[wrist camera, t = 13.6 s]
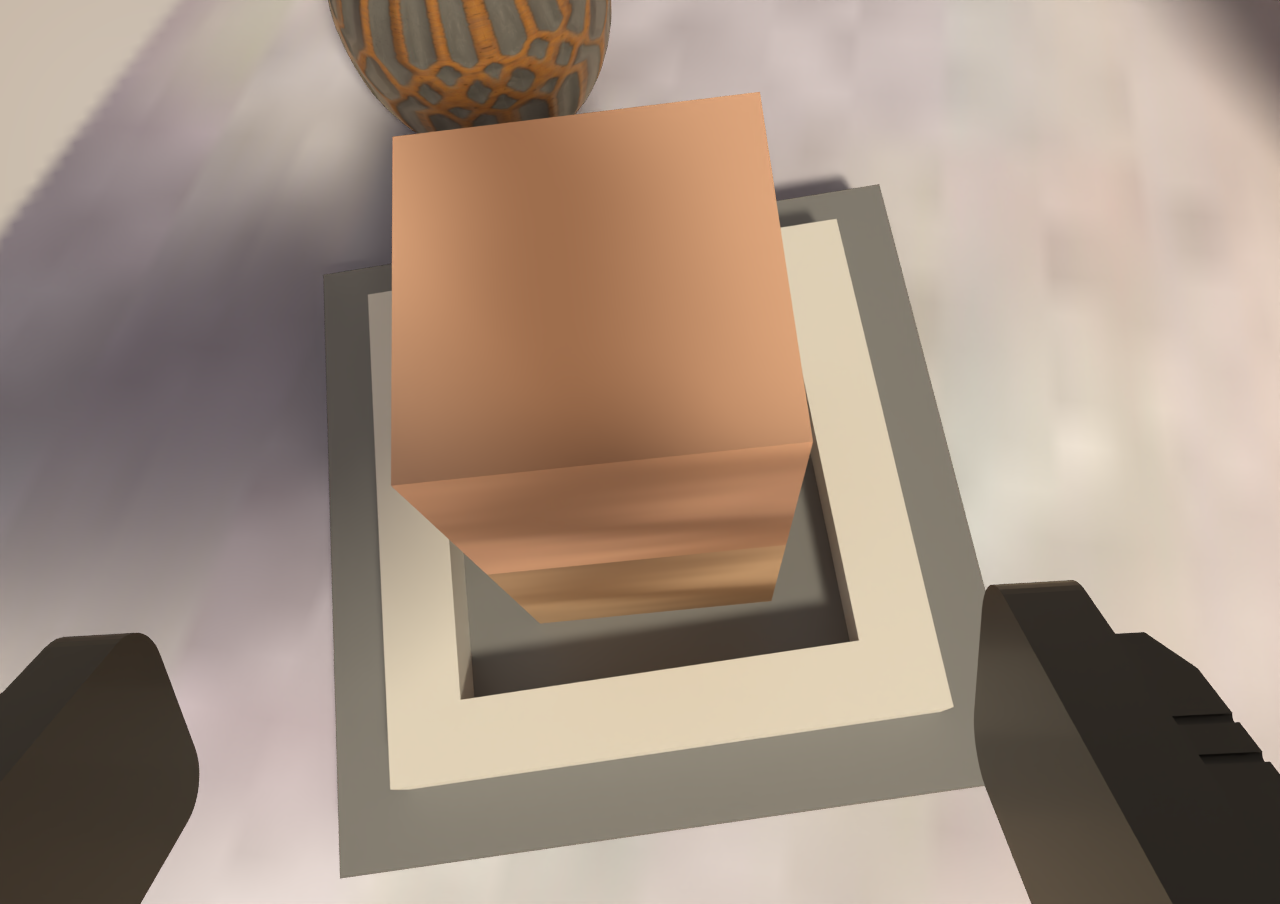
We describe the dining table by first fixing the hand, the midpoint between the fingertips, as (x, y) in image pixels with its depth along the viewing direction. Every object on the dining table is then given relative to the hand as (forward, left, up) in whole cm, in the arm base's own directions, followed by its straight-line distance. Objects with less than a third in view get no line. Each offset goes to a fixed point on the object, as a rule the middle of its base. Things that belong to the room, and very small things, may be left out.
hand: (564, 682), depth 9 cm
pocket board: (0, -5, -13) cm, 14 cm away
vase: (+2, -18, -13) cm, 22 cm away
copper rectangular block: (-1, -5, -11) cm, 12 cm away
